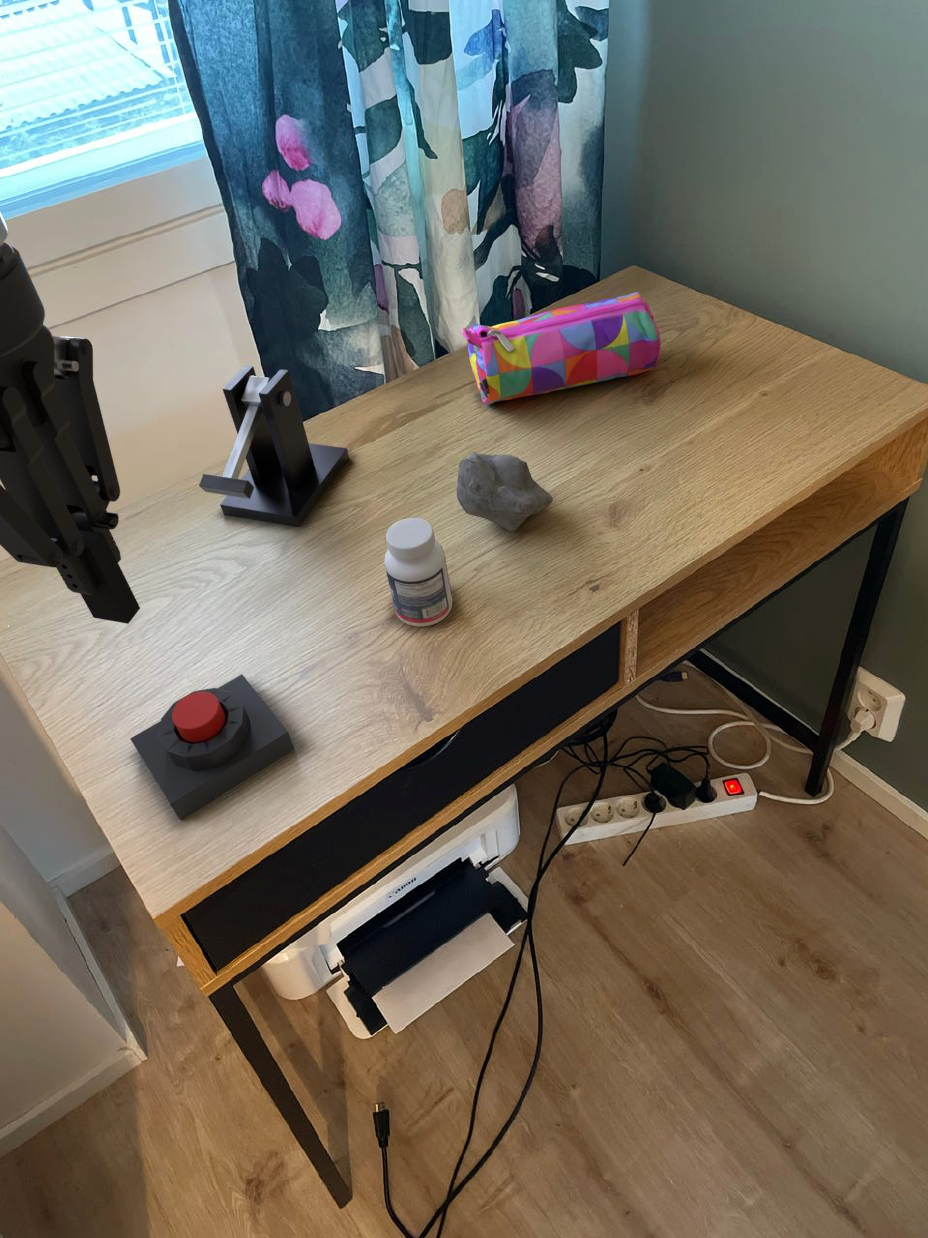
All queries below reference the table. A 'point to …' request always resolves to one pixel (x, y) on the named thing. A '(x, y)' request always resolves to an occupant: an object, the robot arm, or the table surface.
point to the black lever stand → (280, 455)
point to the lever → (239, 446)
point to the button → (198, 717)
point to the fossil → (499, 489)
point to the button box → (213, 749)
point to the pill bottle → (417, 573)
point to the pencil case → (564, 348)
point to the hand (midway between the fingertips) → (116, 612)
